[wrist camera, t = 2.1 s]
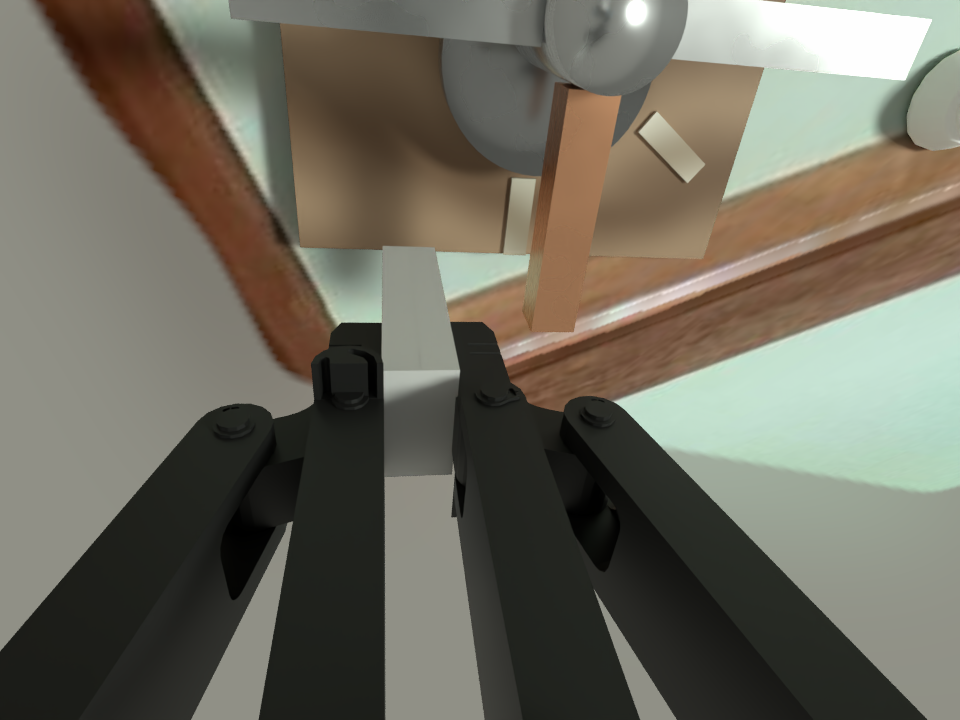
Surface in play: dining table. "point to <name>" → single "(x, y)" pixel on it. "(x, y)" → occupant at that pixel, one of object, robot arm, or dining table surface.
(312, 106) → the board
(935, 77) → the white round hollow piece
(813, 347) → the dining table surface
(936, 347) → the dining table surface
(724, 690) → the robot arm
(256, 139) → the dining table surface
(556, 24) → the capstan
